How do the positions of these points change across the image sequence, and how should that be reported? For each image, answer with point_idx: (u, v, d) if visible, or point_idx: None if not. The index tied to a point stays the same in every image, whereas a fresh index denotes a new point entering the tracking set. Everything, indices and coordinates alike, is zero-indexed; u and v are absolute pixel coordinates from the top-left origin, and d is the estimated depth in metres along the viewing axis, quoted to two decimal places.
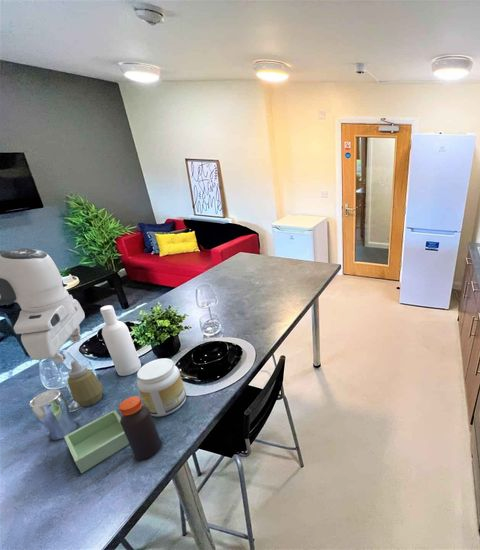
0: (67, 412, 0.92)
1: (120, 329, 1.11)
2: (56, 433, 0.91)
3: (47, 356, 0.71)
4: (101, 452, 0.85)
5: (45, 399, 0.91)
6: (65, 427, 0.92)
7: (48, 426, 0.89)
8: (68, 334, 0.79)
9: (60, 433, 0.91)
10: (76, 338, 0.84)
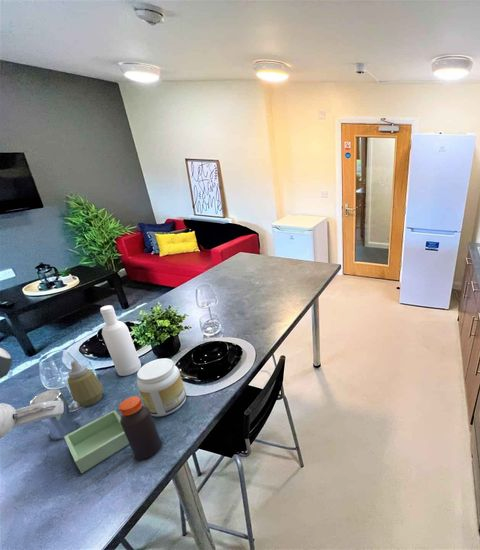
0: (67, 412, 0.92)
1: (120, 329, 1.11)
2: (56, 433, 0.91)
3: None
4: (101, 452, 0.85)
5: (45, 399, 0.91)
6: (65, 427, 0.92)
7: (48, 426, 0.89)
8: None
9: (60, 433, 0.91)
10: None
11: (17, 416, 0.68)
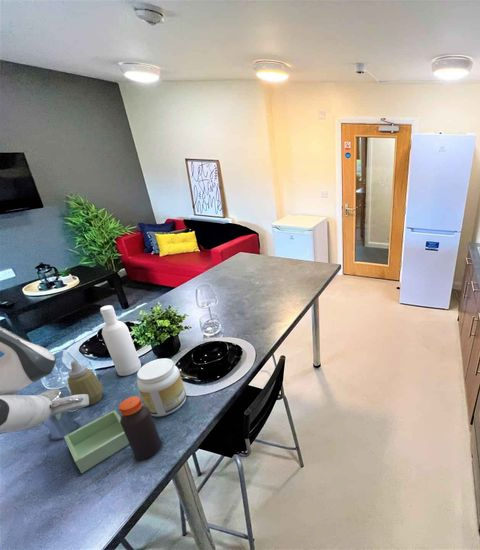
0: (67, 412, 0.92)
1: (120, 329, 1.11)
2: (56, 433, 0.91)
3: None
4: (101, 452, 0.85)
5: None
6: (65, 427, 0.92)
7: (48, 426, 0.89)
8: None
9: (60, 433, 0.91)
10: None
11: (53, 406, 0.82)
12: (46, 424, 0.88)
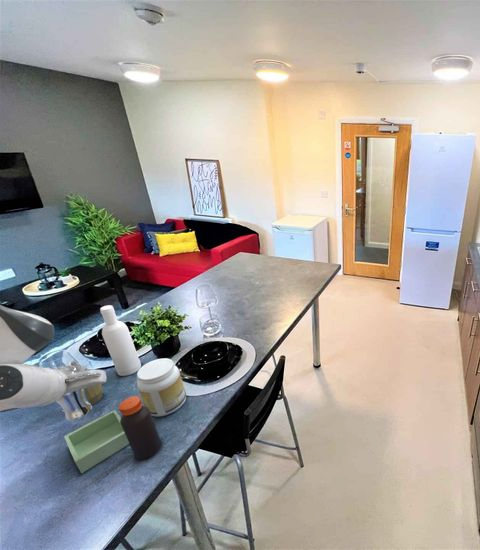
0: (83, 390, 0.84)
1: (120, 329, 1.11)
2: (71, 413, 0.83)
3: None
4: (101, 452, 0.85)
5: None
6: (81, 407, 0.84)
7: (62, 405, 0.81)
8: None
9: (75, 413, 0.83)
10: None
11: (69, 381, 0.74)
12: (60, 403, 0.80)
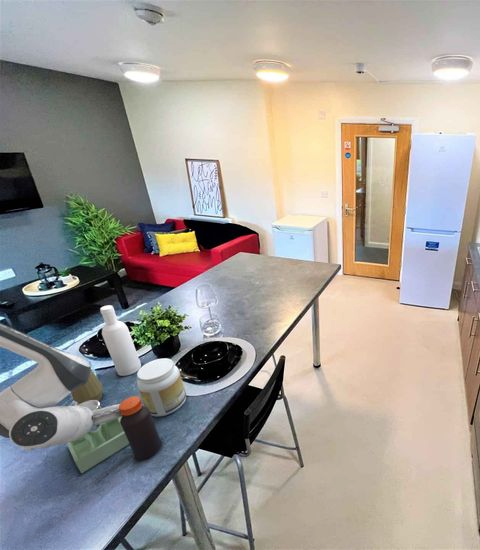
0: (106, 423, 0.88)
1: (120, 329, 1.11)
2: (95, 445, 0.87)
3: None
4: (101, 452, 0.85)
5: None
6: (104, 439, 0.88)
7: (87, 438, 0.85)
8: None
9: (99, 445, 0.88)
10: None
11: (95, 417, 0.78)
12: (85, 436, 0.85)
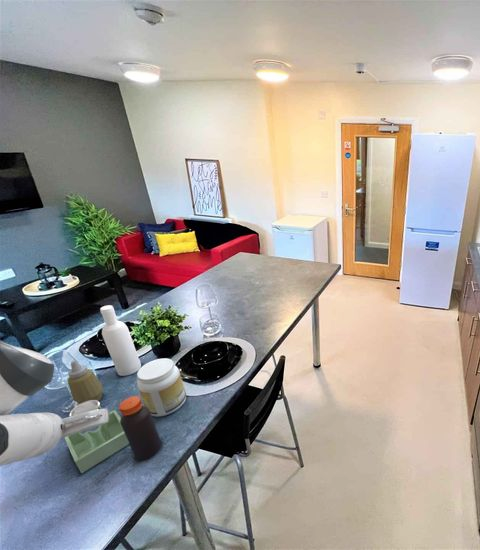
0: (106, 423, 0.88)
1: (120, 329, 1.11)
2: (95, 445, 0.87)
3: None
4: (101, 452, 0.85)
5: (83, 410, 0.87)
6: (104, 439, 0.88)
7: (87, 438, 0.85)
8: None
9: (99, 445, 0.88)
10: None
11: (65, 426, 0.64)
12: (85, 436, 0.85)
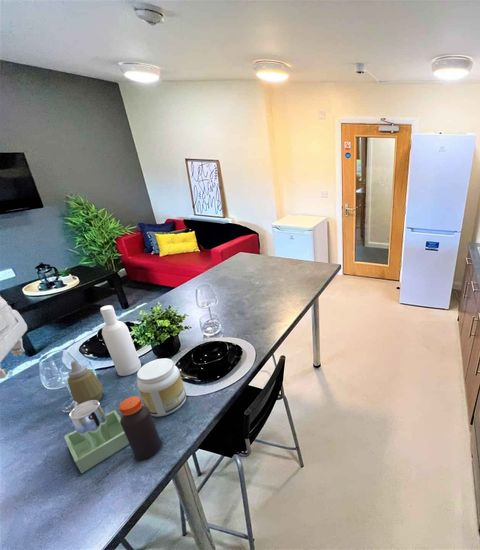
0: (106, 423, 0.88)
1: (120, 329, 1.11)
2: (95, 445, 0.87)
3: None
4: (101, 452, 0.85)
5: (83, 410, 0.87)
6: (104, 439, 0.88)
7: (87, 438, 0.85)
8: (9, 347, 0.73)
9: (99, 445, 0.88)
10: (19, 352, 0.78)
11: None
12: (85, 436, 0.85)
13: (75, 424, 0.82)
